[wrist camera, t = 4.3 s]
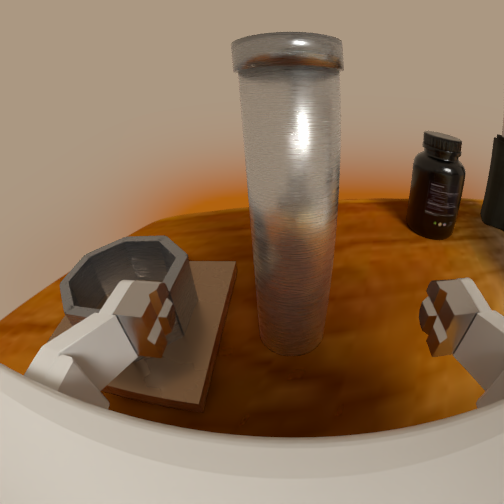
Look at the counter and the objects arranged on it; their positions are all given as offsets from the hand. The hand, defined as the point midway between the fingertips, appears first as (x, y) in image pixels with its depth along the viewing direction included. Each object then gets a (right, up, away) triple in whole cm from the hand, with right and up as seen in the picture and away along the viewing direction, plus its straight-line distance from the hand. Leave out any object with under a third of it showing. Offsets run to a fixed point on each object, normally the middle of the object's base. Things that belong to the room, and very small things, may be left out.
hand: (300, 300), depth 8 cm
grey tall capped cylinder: (+1, -4, +12) cm, 13 cm away
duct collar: (-10, -4, +13) cm, 17 cm away
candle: (+36, +6, +23) cm, 43 cm away
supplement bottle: (+21, +4, +23) cm, 31 cm away
